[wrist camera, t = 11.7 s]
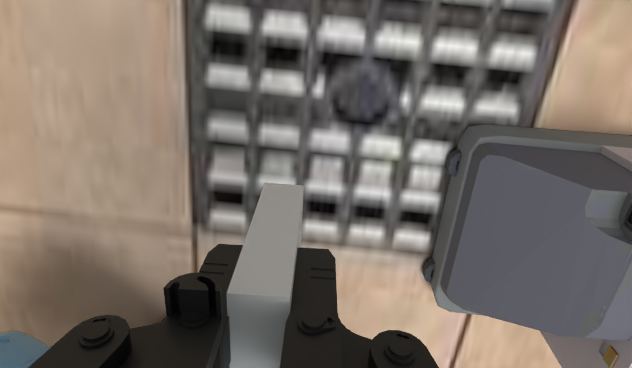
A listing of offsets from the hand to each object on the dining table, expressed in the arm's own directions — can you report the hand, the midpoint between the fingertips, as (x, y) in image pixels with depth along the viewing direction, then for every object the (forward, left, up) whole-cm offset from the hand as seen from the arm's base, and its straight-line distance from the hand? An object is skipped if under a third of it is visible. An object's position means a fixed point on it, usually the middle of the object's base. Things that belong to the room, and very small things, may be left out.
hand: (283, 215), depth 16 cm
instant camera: (+22, -11, -23) cm, 34 cm away
